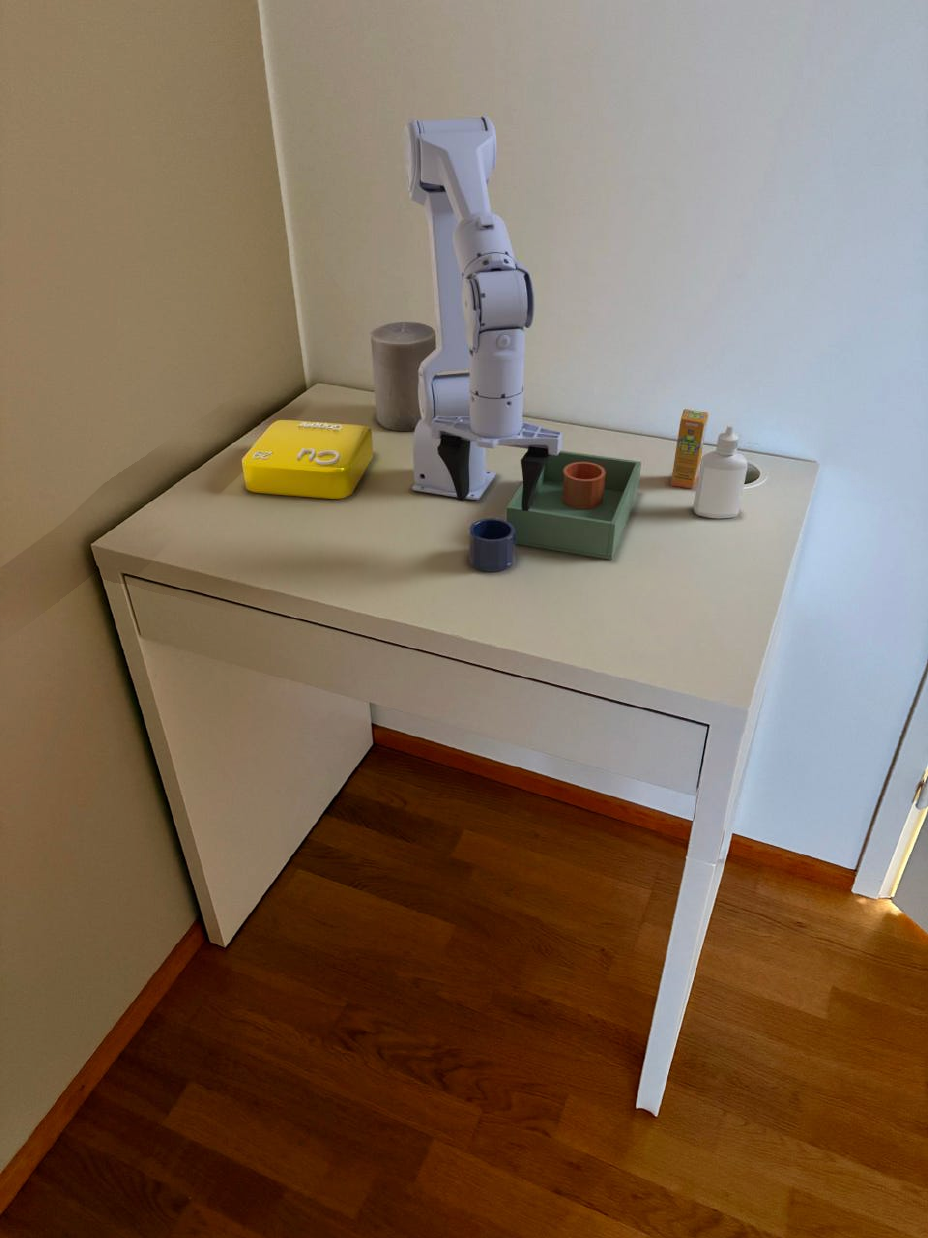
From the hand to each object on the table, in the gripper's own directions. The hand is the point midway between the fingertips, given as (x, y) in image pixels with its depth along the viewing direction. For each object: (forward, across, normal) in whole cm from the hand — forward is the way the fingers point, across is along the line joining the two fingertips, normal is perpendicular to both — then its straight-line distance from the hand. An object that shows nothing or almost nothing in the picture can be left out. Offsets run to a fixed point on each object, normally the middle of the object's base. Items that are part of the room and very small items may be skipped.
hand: (494, 501), depth 105 cm
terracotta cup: (+7, +7, +17) cm, 20 cm away
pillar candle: (+8, -25, +35) cm, 44 cm away
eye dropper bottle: (+8, +24, +20) cm, 32 cm away
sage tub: (+8, +7, +13) cm, 16 cm away
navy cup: (+8, 0, 0) cm, 8 cm away
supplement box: (+8, +19, +27) cm, 34 cm away
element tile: (+8, -31, +14) cm, 35 cm away
